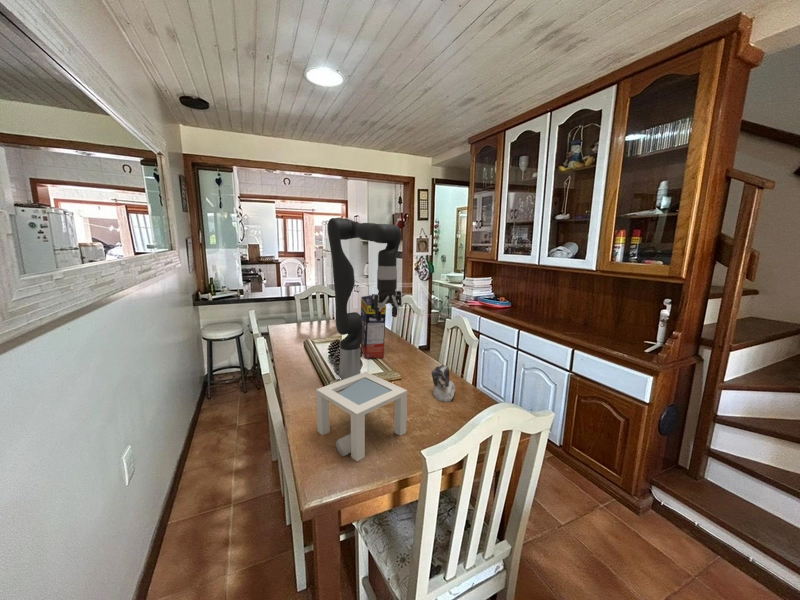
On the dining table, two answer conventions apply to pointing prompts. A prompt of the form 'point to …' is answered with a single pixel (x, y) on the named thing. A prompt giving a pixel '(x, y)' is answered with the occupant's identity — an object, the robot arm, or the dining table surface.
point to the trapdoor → (363, 391)
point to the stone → (442, 384)
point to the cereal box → (372, 330)
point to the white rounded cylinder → (344, 445)
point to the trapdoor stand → (360, 409)
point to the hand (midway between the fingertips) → (386, 318)
